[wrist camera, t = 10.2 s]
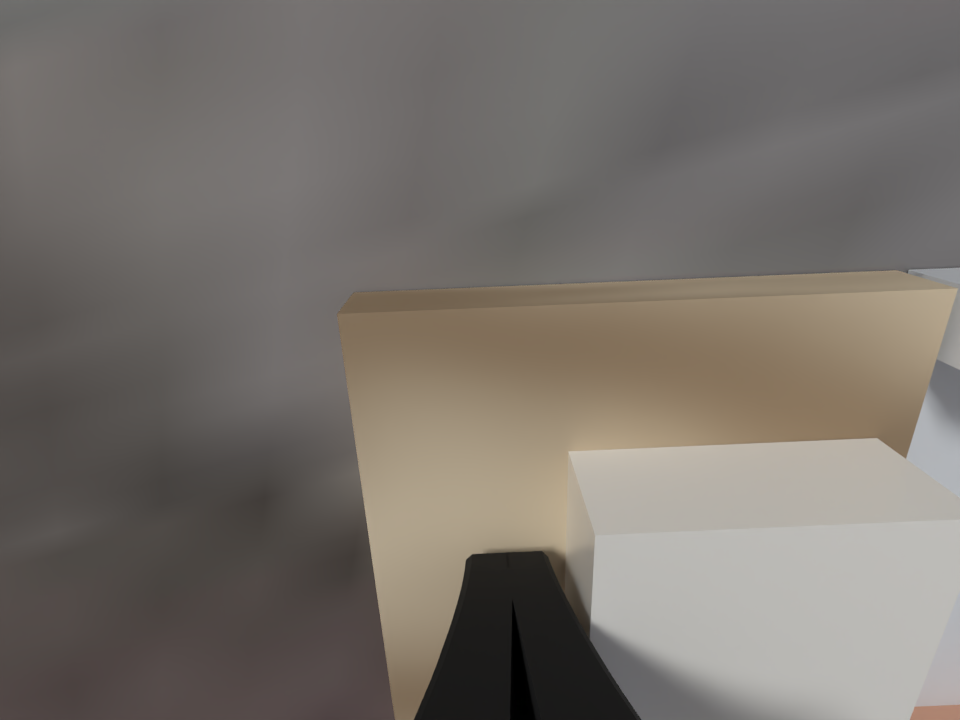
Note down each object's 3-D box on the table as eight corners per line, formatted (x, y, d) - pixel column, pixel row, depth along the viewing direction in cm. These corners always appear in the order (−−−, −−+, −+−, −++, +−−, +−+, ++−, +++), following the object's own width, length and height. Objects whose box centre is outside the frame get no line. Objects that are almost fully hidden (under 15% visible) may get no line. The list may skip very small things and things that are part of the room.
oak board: (739, 880, 16) (760, 936, 14) (431, 894, 16) (428, 952, 14) (896, 270, 9) (957, 288, 8) (353, 292, 9) (337, 314, 8)
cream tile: (816, 659, 11) (890, 769, 9) (562, 670, 11) (582, 783, 9) (876, 438, 9) (987, 518, 7) (568, 451, 9) (595, 535, 7)
